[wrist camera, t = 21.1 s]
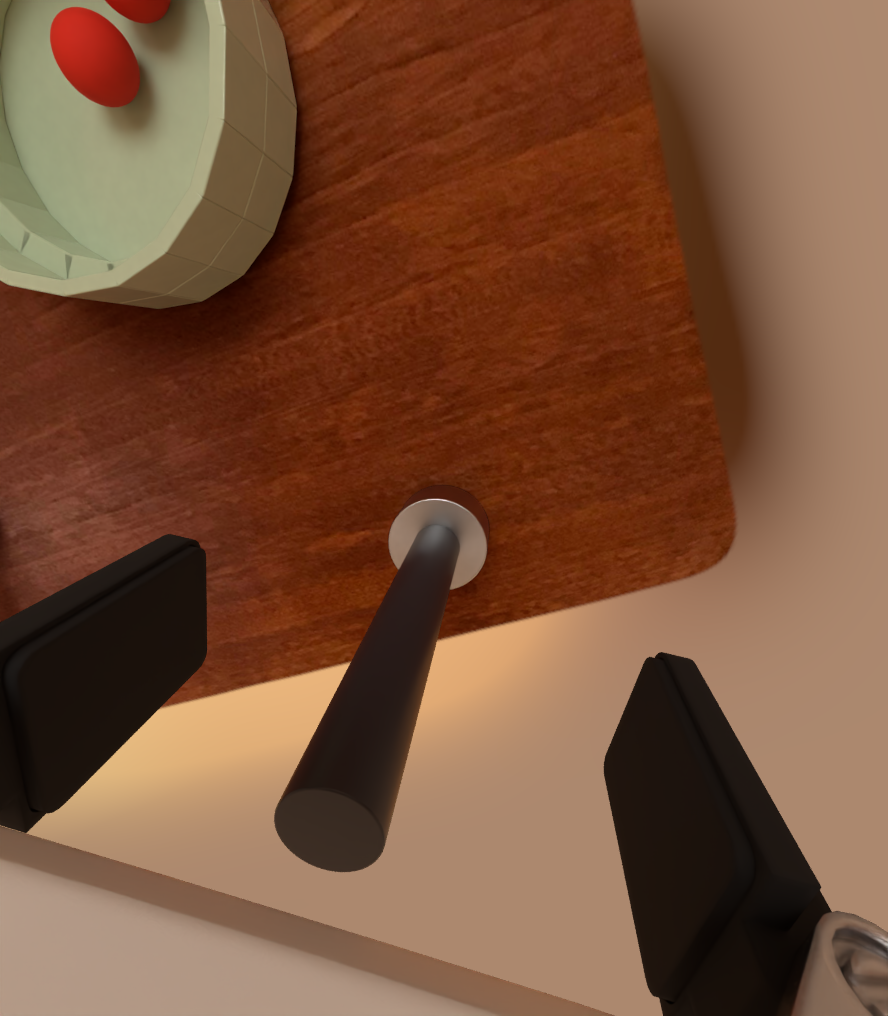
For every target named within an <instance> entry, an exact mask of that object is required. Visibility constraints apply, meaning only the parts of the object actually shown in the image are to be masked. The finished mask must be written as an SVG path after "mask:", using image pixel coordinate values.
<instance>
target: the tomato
mask: <svg viewBox="0 0 888 1016" xmlns="http://www.w3.org/2000/svg"><path fill="white" fill-rule="evenodd" d="M50 43H51V48H52V52H53V55H54V58H55V60H56V62H57V64H58V66H59V68H60V70H61V71H62V73H63V74H64V76H65V77H66V79H67V80H68V81H69V82H70V84H71V85H72V86H73V87H74V88H75V89H76V90H77V91H78V92H80V93H81V94H82V95H83V96H85V97H86V98H88V99H89V100H91V101H93V102H95V103H97V104H99V105H103V106H106V107H122V106H125V105H127V104H129V103H130V102H131V101H132V100H133V99H134V98H135V96H136V95H137V92H138V90H139V85H140V72H139V66H138V62H137V59H136V57H135V54H134V52H133V50H132V48H131V46H130V44H129V43H128V41H127V40H126V38H125V37H124V36H123V34H122V33H121V32H120V31H119V30H118V29H117V28H116V26H115V25H113V24H112V23H111V22H110V21H109V20H108V19H106V18H105V17H103V16H102V15H100V14H99V13H97V12H95V11H92V10H90V9H87V8H83V7H69V8H66V9H64V10H62V11H60V12H59V13H58V14H57V15H56V16H55V18H54V19H53V22H52V24H51V29H50Z"/></svg>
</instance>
